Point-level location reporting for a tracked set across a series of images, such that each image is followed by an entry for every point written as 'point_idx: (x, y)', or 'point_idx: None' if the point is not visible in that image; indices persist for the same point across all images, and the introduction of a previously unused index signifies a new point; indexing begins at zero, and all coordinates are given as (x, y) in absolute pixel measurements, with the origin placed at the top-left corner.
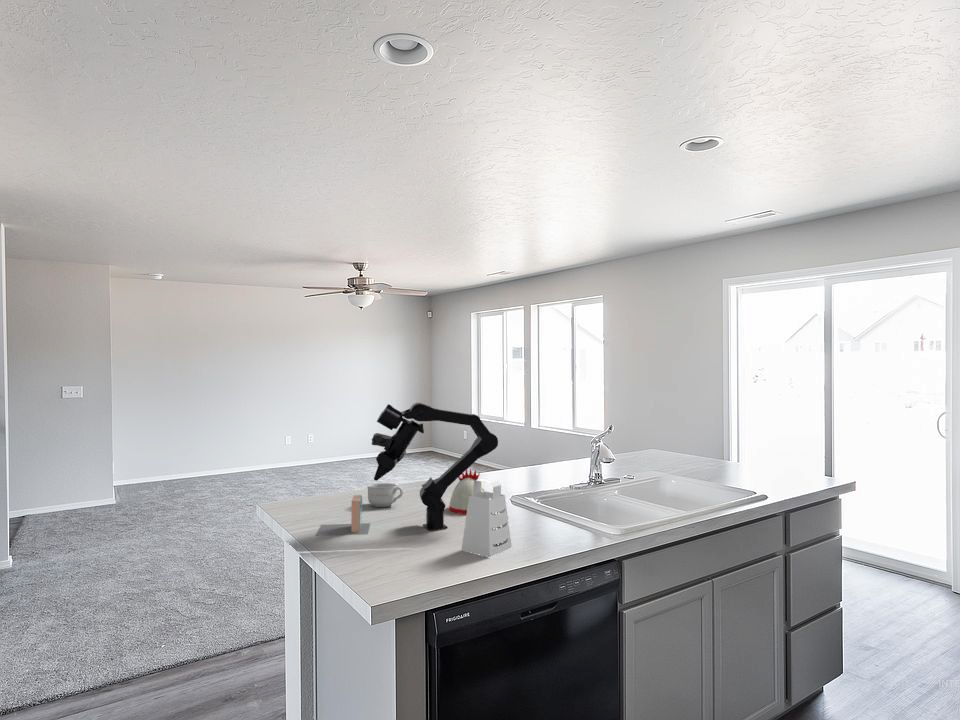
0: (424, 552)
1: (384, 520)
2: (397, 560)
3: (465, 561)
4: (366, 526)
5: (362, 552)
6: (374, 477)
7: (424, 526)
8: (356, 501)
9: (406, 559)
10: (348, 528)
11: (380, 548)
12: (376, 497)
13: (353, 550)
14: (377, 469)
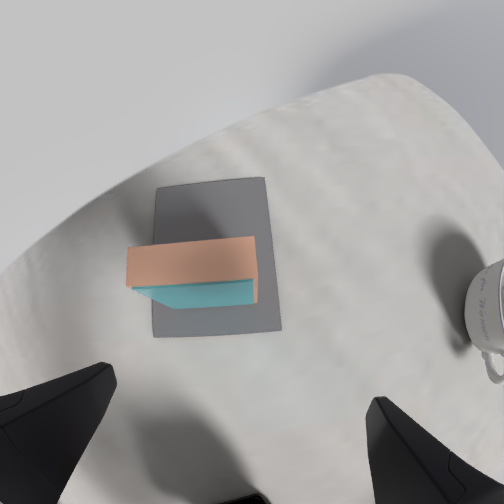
0: None
1: (336, 369)
2: None
3: None
4: (240, 322)
5: (42, 328)
6: (89, 368)
7: (240, 499)
8: (128, 271)
9: None
10: None
11: (60, 372)
12: (476, 300)
13: (53, 306)
14: (14, 397)
